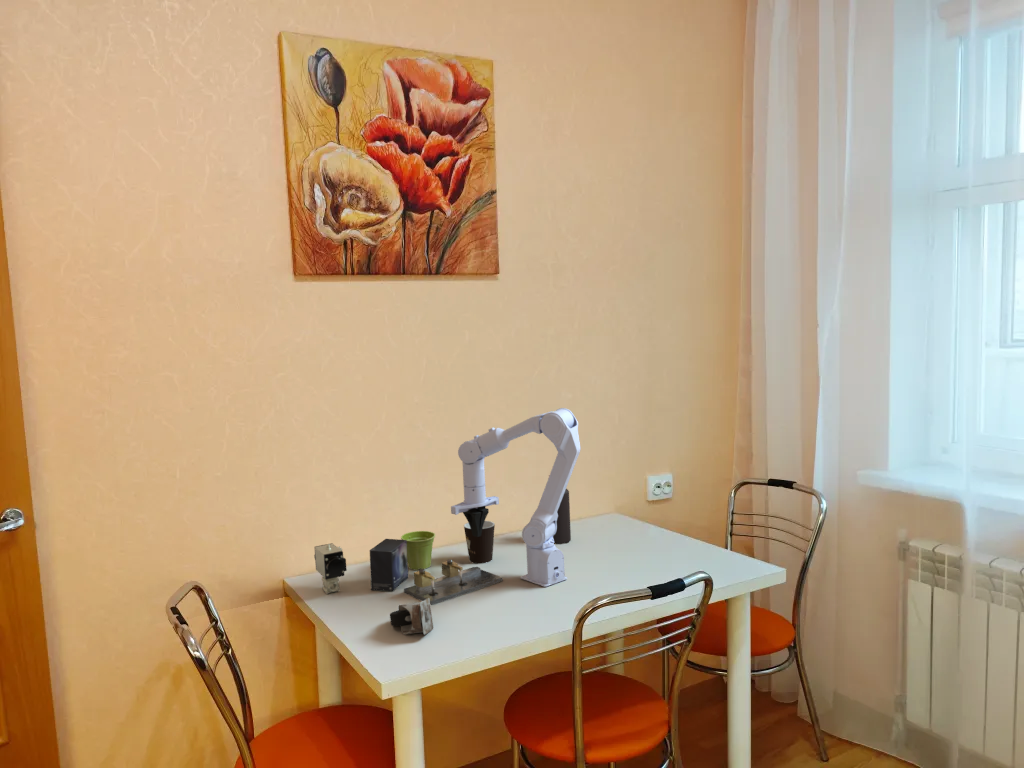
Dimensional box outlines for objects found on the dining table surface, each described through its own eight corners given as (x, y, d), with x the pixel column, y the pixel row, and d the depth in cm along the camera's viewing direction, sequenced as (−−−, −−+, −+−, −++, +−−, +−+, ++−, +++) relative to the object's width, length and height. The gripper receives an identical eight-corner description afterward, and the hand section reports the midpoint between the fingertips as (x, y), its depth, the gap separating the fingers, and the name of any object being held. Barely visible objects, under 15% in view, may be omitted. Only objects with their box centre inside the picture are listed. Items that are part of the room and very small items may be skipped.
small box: (394, 592, 185) (392, 551, 184) (370, 591, 187) (367, 550, 186) (409, 577, 195) (407, 538, 195) (386, 576, 197) (384, 538, 196)
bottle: (574, 539, 223) (572, 473, 222) (564, 545, 217) (561, 478, 216) (555, 536, 227) (552, 472, 225) (544, 542, 221) (541, 476, 219)
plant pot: (443, 563, 206) (442, 532, 205) (423, 574, 198) (421, 542, 197) (416, 559, 210) (415, 529, 210) (395, 569, 202) (393, 538, 202)
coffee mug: (495, 564, 203) (493, 528, 202) (464, 565, 203) (462, 529, 203) (497, 551, 215) (495, 517, 214) (467, 552, 215) (466, 518, 214)
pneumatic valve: (328, 599, 182) (325, 552, 181) (315, 586, 192) (312, 540, 191) (350, 594, 184) (347, 547, 183) (336, 581, 195) (333, 537, 194)
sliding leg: (466, 581, 186) (465, 563, 185) (458, 584, 184) (457, 565, 184) (450, 575, 191) (449, 557, 190) (442, 578, 189) (441, 559, 189)
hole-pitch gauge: (502, 581, 190) (501, 558, 189) (431, 605, 175) (430, 580, 175) (474, 570, 199) (472, 548, 198) (404, 592, 184) (402, 569, 184)
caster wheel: (400, 630, 168) (442, 624, 166) (381, 640, 157) (426, 635, 155) (396, 600, 169) (437, 594, 167) (377, 608, 158) (422, 602, 156)
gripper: (486, 478, 203) (488, 527, 204) (443, 487, 193) (445, 538, 195) (502, 482, 198) (505, 531, 199) (459, 491, 188) (461, 544, 189)
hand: (476, 535), depth 196 cm, fingers closed
